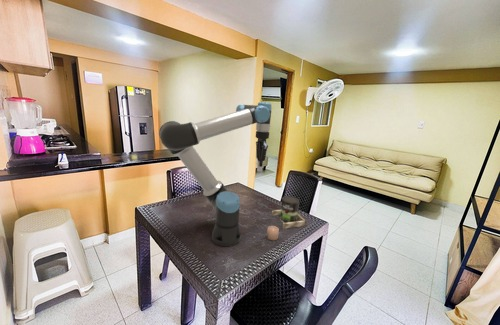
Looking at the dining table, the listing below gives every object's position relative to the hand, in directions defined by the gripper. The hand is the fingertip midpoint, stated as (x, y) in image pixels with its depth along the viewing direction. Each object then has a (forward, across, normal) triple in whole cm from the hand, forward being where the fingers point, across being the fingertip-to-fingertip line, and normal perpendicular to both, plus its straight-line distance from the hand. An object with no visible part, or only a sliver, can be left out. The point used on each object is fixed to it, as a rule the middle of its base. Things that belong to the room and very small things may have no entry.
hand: (259, 171), depth 123 cm
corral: (+30, -7, -19) cm, 37 cm away
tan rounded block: (+31, -21, -2) cm, 37 cm away
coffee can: (+31, -7, -19) cm, 37 cm away
